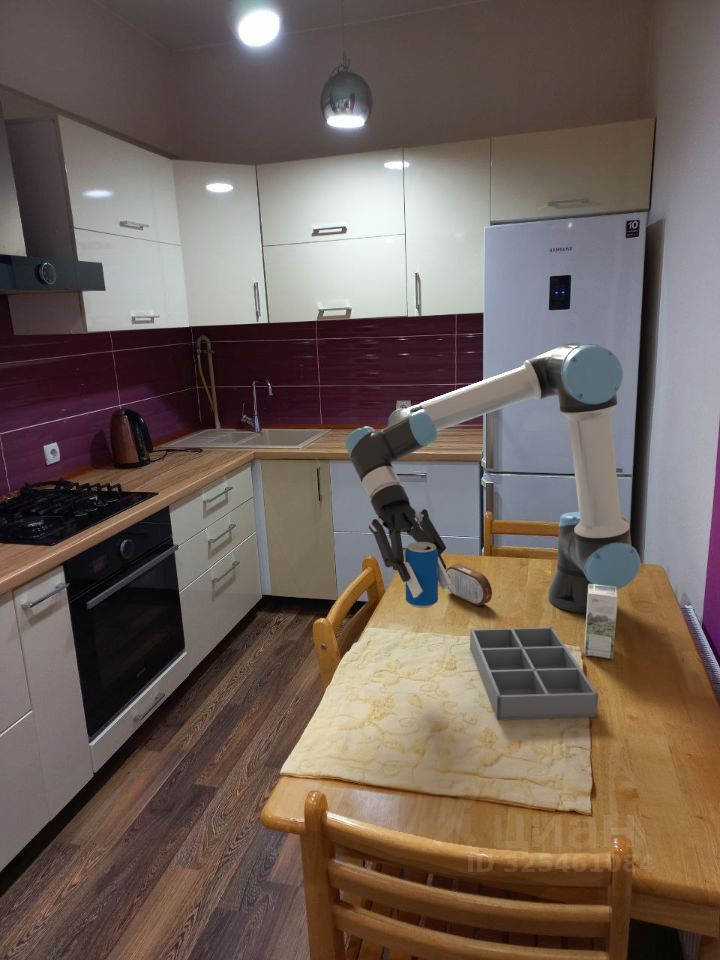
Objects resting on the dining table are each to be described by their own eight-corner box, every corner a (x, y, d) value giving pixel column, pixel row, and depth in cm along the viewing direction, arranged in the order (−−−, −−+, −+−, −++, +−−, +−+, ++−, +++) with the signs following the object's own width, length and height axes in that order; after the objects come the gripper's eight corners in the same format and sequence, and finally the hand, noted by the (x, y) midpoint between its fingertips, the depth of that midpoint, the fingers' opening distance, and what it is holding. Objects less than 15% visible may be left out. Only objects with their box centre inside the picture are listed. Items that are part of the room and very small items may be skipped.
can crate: (551, 645, 140) (552, 627, 139) (596, 716, 115) (598, 694, 114) (470, 648, 140) (470, 629, 139) (497, 719, 114) (497, 697, 113)
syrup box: (612, 647, 139) (616, 584, 136) (613, 660, 134) (618, 595, 130) (584, 643, 141) (588, 582, 138) (584, 656, 136) (588, 592, 132)
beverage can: (436, 610, 126) (436, 552, 123) (403, 608, 127) (403, 551, 124) (439, 597, 132) (439, 541, 129) (408, 595, 133) (407, 540, 130)
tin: (492, 608, 160) (493, 576, 158) (483, 611, 158) (484, 579, 156) (451, 589, 172) (452, 559, 170) (442, 591, 171) (443, 561, 169)
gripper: (416, 495, 143) (462, 587, 133) (340, 509, 134) (384, 610, 124) (430, 476, 137) (480, 571, 127) (352, 490, 128) (399, 593, 118)
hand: (432, 590), depth 126 cm, fingers closed on beverage can, 6 cm apart
